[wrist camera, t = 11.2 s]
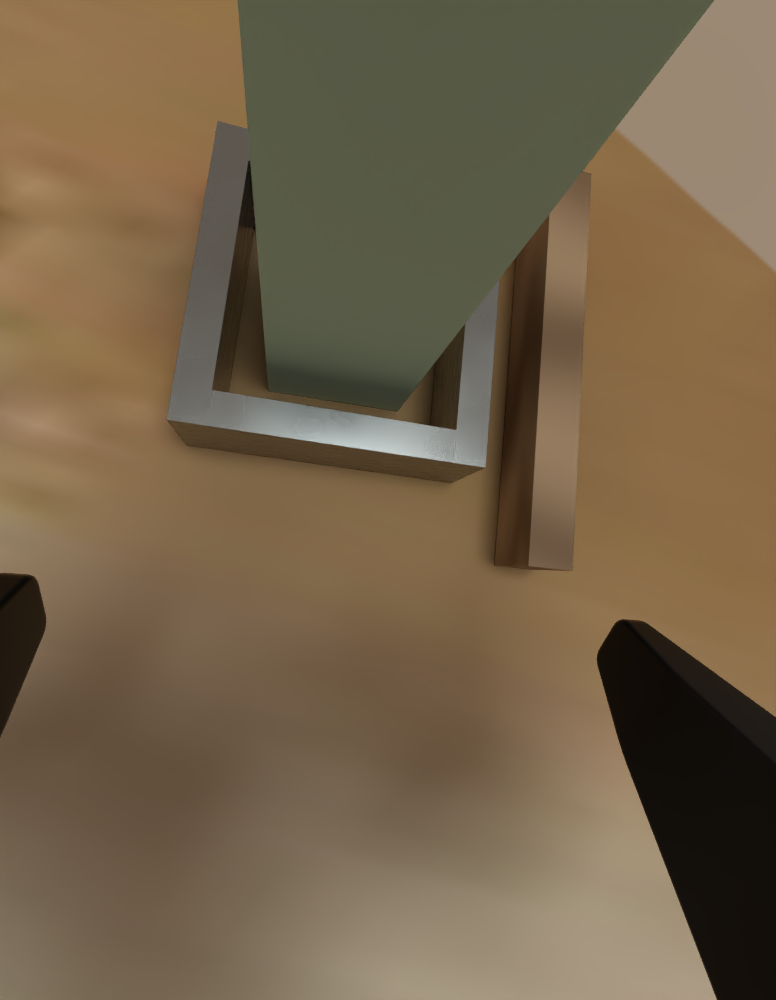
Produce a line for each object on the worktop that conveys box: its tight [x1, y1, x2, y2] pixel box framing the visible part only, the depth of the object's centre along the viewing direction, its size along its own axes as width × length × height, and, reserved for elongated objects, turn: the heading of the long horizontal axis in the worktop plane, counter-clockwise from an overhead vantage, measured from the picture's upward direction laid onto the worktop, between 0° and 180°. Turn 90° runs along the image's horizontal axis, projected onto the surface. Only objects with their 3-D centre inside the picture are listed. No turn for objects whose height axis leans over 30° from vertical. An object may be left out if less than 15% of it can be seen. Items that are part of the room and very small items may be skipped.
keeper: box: [167, 121, 499, 483], centre depth 16 cm, size 9×9×3 cm
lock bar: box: [238, 0, 714, 411], centre depth 11 cm, size 4×4×14 cm
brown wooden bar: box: [495, 171, 591, 571], centre depth 18 cm, size 14×2×2 cm, turn 174°
